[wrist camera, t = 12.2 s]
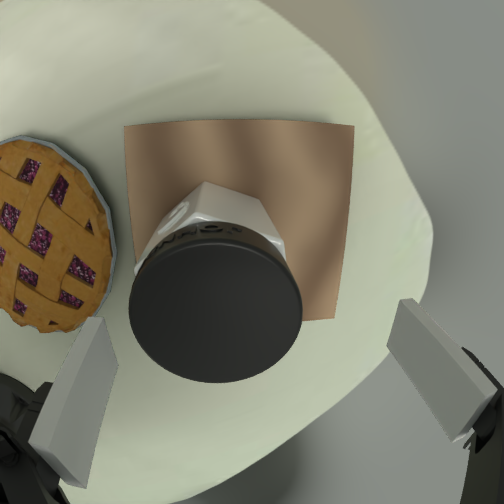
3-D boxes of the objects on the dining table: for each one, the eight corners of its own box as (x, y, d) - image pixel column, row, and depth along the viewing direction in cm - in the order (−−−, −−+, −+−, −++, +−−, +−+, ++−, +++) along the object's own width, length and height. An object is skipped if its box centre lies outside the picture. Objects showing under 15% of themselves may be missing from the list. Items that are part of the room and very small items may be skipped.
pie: (94, 344, 34) (83, 370, 29) (-30, 267, 28) (-50, 283, 23) (158, 186, 27) (147, 198, 23) (1, 108, 21) (-26, 109, 17)
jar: (225, 159, 22) (231, 188, 11) (289, 236, 25) (342, 320, 14) (141, 234, 24) (89, 318, 13) (208, 299, 27) (206, 407, 16)
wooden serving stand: (156, 300, 32) (148, 327, 27) (140, 126, 25) (124, 126, 20) (319, 293, 33) (334, 318, 29) (332, 125, 27) (354, 125, 22)
